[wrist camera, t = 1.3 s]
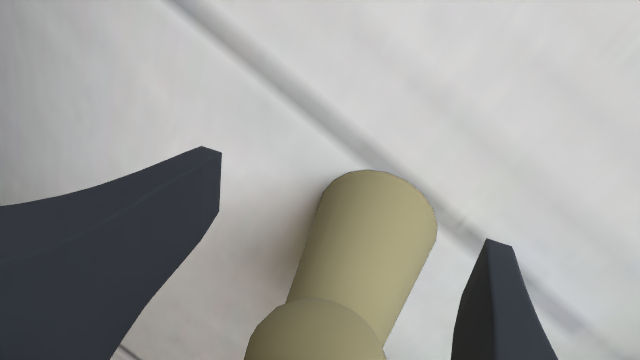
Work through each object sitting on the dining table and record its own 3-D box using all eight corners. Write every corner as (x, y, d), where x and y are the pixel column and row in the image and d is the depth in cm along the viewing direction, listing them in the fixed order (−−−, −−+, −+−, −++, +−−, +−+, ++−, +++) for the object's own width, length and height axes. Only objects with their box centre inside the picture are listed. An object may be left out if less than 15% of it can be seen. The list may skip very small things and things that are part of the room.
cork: (464, 237, 26) (425, 447, 17) (374, 286, 29) (304, 481, 20) (377, 146, 25) (288, 320, 16) (296, 208, 28) (186, 378, 19)
